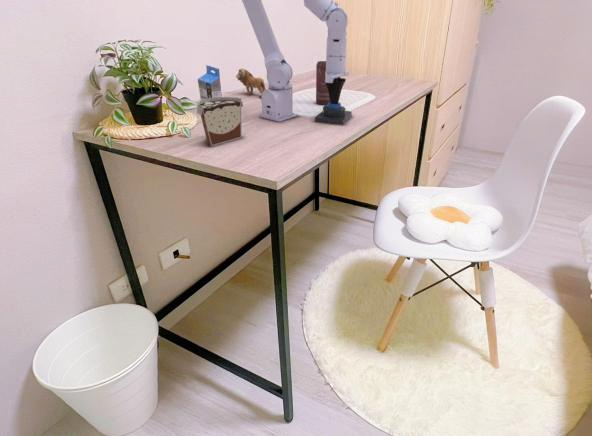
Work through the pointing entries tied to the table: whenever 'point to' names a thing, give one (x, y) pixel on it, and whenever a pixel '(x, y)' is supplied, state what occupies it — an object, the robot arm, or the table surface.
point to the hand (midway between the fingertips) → (334, 103)
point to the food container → (221, 119)
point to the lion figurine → (250, 81)
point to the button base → (333, 116)
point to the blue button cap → (334, 106)
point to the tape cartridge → (210, 84)
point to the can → (321, 84)
